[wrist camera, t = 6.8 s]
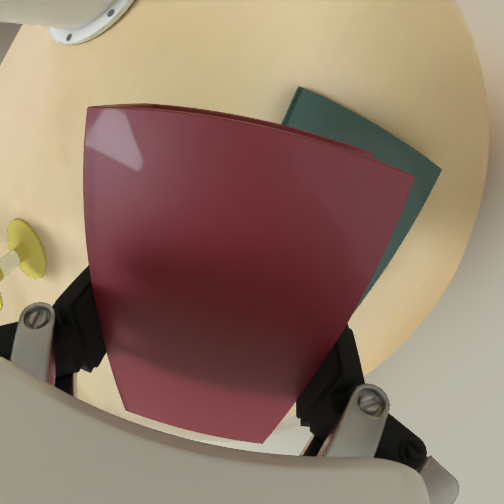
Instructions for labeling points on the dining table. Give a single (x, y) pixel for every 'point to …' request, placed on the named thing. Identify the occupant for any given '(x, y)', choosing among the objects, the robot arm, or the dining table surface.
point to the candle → (22, 252)
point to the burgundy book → (226, 258)
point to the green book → (372, 140)
